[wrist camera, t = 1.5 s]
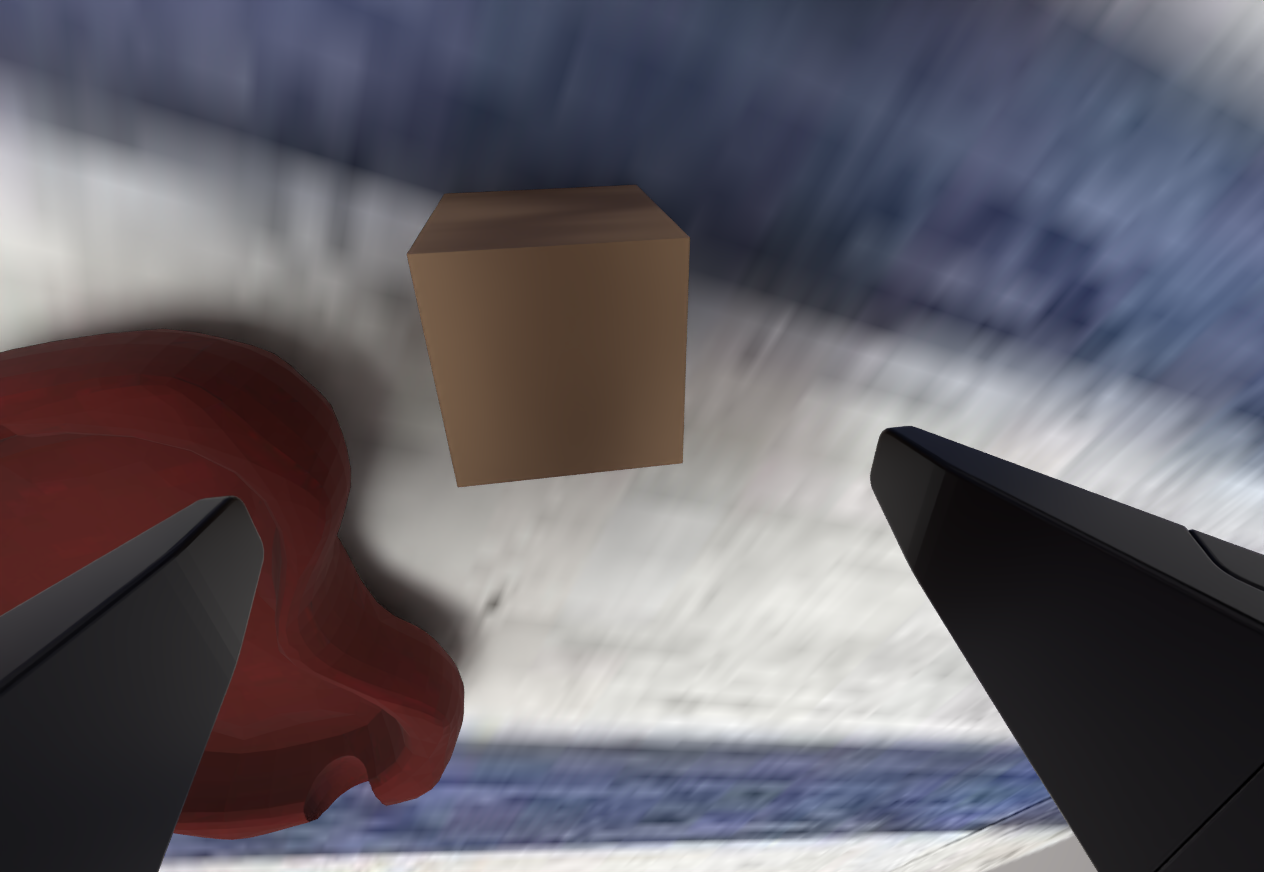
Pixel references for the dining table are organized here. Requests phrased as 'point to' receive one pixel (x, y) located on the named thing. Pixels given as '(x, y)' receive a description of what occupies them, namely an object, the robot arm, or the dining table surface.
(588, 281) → the walnut block
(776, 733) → the dining table surface
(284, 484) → the ashtray
